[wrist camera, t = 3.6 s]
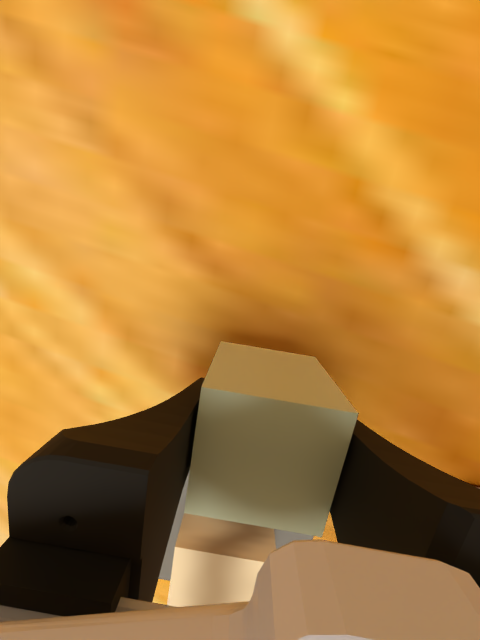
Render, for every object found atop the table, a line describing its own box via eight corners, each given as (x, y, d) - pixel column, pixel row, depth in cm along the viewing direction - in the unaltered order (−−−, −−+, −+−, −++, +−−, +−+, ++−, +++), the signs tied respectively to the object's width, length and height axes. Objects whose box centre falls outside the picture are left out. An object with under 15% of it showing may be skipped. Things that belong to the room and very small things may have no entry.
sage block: (314, 356, 12) (358, 413, 7) (295, 439, 13) (321, 537, 8) (220, 340, 12) (201, 386, 7) (208, 424, 13) (184, 512, 8)
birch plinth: (272, 518, 19) (277, 564, 16) (257, 582, 20) (259, 635, 17) (186, 503, 19) (174, 546, 16) (177, 568, 20) (165, 619, 17)
